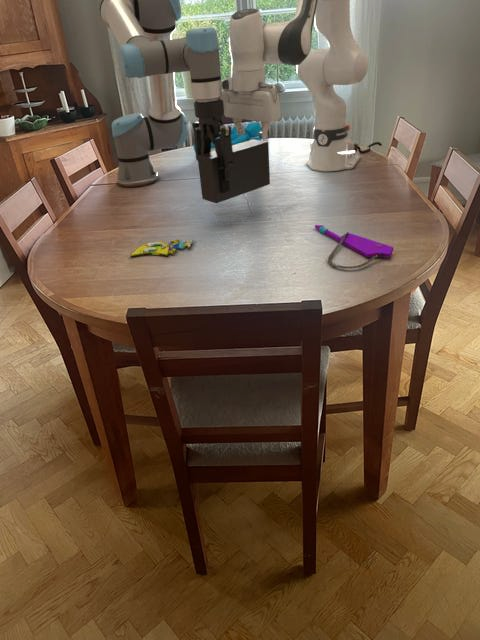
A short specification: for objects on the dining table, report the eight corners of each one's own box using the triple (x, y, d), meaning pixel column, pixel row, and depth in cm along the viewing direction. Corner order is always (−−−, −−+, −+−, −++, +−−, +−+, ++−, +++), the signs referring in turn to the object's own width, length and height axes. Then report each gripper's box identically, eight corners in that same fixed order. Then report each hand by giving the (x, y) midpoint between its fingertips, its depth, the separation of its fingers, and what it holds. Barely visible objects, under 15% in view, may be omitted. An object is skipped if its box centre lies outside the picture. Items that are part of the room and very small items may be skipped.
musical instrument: (376, 279, 107) (404, 235, 119) (376, 271, 106) (404, 227, 118) (282, 266, 120) (316, 227, 132) (281, 259, 119) (315, 220, 131)
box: (216, 203, 131) (211, 158, 125) (202, 199, 135) (197, 155, 129) (270, 184, 142) (268, 141, 135) (255, 180, 146) (253, 139, 139)
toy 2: (199, 135, 215) (262, 115, 205) (207, 159, 220) (269, 140, 210) (187, 145, 201) (254, 124, 191) (196, 170, 206) (262, 151, 196)
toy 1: (185, 253, 123) (129, 254, 125) (186, 256, 123) (130, 257, 125) (193, 237, 131) (141, 238, 133) (194, 240, 132) (141, 241, 134)
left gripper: (244, 99, 117) (250, 192, 129) (197, 94, 129) (207, 179, 142) (220, 104, 113) (229, 200, 125) (174, 99, 125) (186, 186, 138)
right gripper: (285, 81, 122) (286, 138, 129) (233, 79, 135) (237, 130, 143) (267, 85, 119) (269, 143, 126) (216, 82, 132) (220, 134, 140)
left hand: (217, 189), depth 134 cm, fingers closed on box, 6 cm apart
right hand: (252, 136), depth 135 cm, fingers open, 8 cm apart
